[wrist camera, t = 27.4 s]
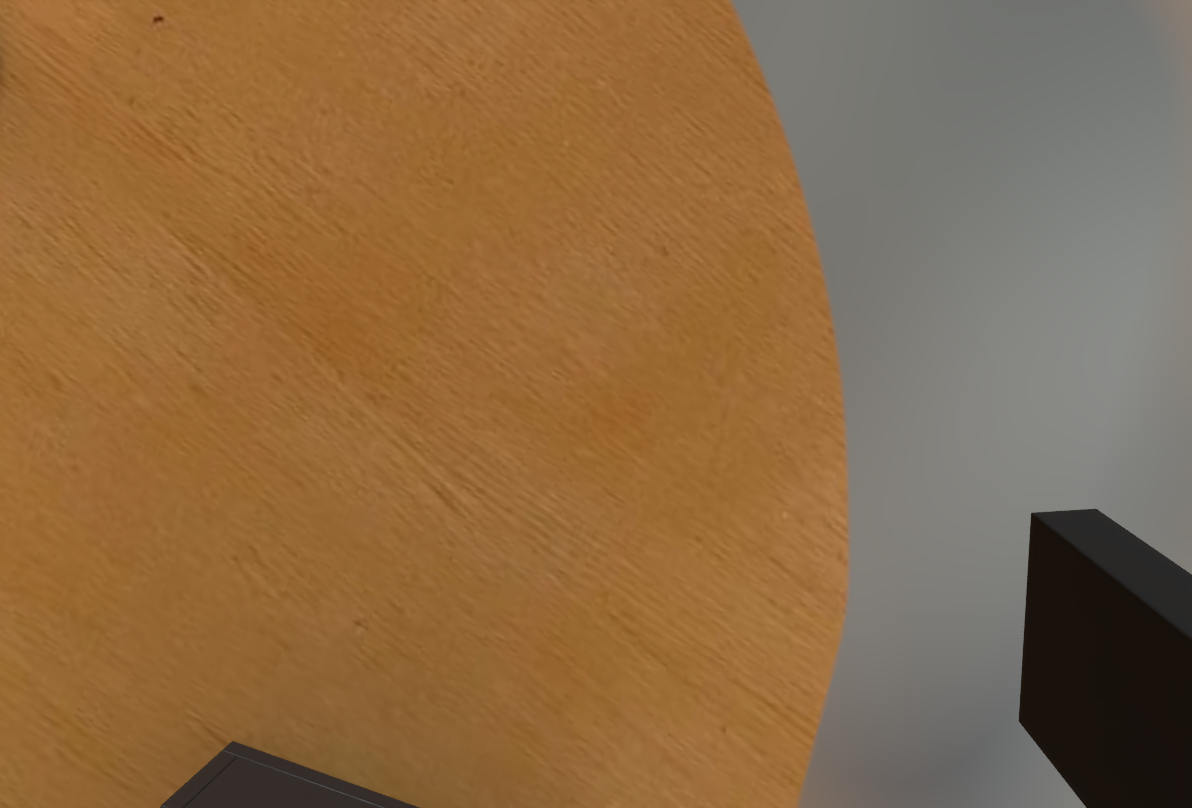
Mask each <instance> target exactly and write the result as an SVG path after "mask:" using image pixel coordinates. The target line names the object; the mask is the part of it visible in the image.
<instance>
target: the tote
mask: <svg viewBox="0 0 1192 808" xmlns="http://www.w3.org/2000/svg"><path fill="white" fill-rule="evenodd" d="M160 808H418V807H416V806H413V805H410V804H407V803H404V802H402V801H399V800H396V799H393V798H390V797H388V796H385V795H382V794H379V793H376V792H374V791H371V790H368V789H365V788H362V787H360V786H357V785H354V784H351V783H348V782H346V781H343V780H340V779H337V778H334V777H332V776H329V775H326V774H323V773H320V772H318V771H315V770H312V769H309V768H306V767H304V766H301V765H298V764H295V763H292V762H290V761H287V760H284V759H281V758H278V757H276V756H273V755H270V754H267V753H264V752H262V751H259V750H256V749H253V748H250V747H248V746H245V745H242V744H239V743H236V742H233V741H232V742H231V743H230V744H229V745H228V746H227V747H225V748H224V749H223V750H222V751H221V752H220V753H219V754H218V755H217V756H215V757H214V758H213V759H212V760H211V761H210V762H209V763H208V764H207V765H205V766H204V767H203V768H202V769H201V770H200V771H199V772H198V773H197V774H195V775H194V776H193V777H192V778H191V779H190V780H189V781H188V782H187V783H185V784H184V785H183V786H182V787H181V788H180V789H179V790H178V791H177V792H175V793H174V794H173V795H172V796H171V797H170V798H169V799H168V800H167V801H165V802H164V803H163V804H162V805H161V807H160Z"/></svg>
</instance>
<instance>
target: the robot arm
mask: <svg viewBox="0 0 1192 808" xmlns="http://www.w3.org/2000/svg"><path fill="white" fill-rule="evenodd" d="M1025 611H1026V612H1025V628H1024V643H1023V644H1024V645H1023V661H1022V677H1021V678H1022V679H1021V694H1020V710H1019V722H1020V723H1021V725H1022V726H1023V727H1024V728H1025V730H1026V731H1027V732H1028V733H1029V735H1030V736H1031V737H1032V738H1033V740H1034V741H1035V742H1036V744H1037V745H1038V746H1039V747H1040V749H1041V750H1042V751H1043V753H1044V754H1045V755H1046V756H1047V758H1048V759H1049V760H1050V762H1051V763H1052V764H1053V765H1054V767H1055V768H1056V769H1057V771H1058V772H1059V773H1060V774H1061V776H1062V777H1063V778H1064V779H1065V781H1066V782H1067V783H1068V785H1069V786H1070V787H1071V788H1072V790H1073V791H1074V792H1075V794H1076V795H1077V796H1078V797H1079V799H1080V800H1081V801H1082V802H1083V804H1084V805H1085V806H1086V808H1192V575H1191V574H1190V573H1189V572H1187V571H1186V570H1184V569H1183V568H1181V567H1180V566H1178V565H1177V564H1175V563H1174V562H1173V561H1171V560H1169V559H1168V558H1167V557H1165V556H1164V555H1162V554H1161V553H1159V552H1158V551H1157V550H1155V549H1154V548H1152V547H1151V546H1149V545H1148V544H1146V543H1145V542H1144V541H1142V540H1141V539H1139V538H1137V537H1136V536H1135V535H1133V534H1132V533H1130V532H1129V531H1128V530H1126V529H1125V528H1123V527H1122V526H1120V525H1119V524H1117V523H1116V522H1114V521H1113V520H1111V519H1110V518H1109V517H1107V516H1106V515H1104V514H1103V513H1101V512H1100V511H1099V510H1097V509H1088V510H1087V509H1086V510H1071V511H1054V512H1038V513H1031V526H1030V543H1029V560H1028V576H1027V594H1026V610H1025Z"/></svg>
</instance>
